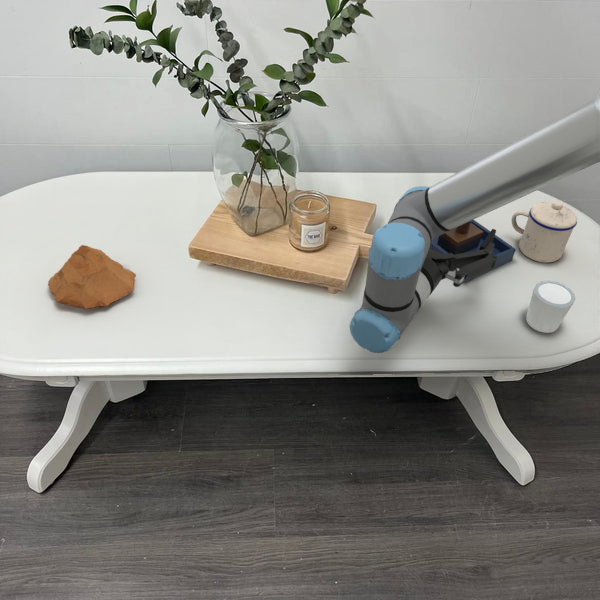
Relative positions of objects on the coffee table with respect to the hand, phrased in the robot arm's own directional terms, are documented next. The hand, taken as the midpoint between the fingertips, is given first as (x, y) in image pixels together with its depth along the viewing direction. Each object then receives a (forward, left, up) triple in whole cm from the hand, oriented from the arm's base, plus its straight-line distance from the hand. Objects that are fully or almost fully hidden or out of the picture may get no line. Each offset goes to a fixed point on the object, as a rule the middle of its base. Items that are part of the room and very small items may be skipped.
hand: (458, 222), depth 109 cm
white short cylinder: (-22, -3, -10) cm, 24 cm away
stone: (+28, +63, -10) cm, 70 cm away
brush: (+2, -5, -9) cm, 10 cm away
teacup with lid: (-6, -19, -10) cm, 22 cm away
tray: (+2, -5, -10) cm, 11 cm away
